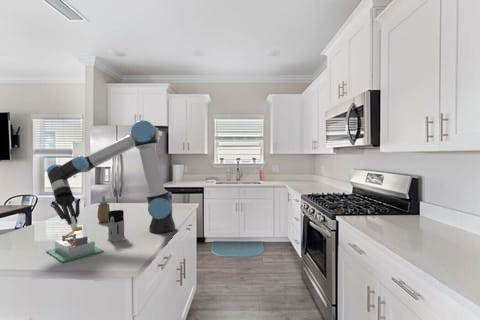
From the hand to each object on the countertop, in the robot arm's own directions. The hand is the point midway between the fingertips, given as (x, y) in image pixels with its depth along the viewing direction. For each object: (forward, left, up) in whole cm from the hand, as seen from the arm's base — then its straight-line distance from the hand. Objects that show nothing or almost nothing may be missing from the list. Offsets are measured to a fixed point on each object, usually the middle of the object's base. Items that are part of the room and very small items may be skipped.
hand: (75, 229), depth 129 cm
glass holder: (-7, -20, -11) cm, 24 cm away
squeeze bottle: (+27, -58, -11) cm, 65 cm away
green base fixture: (+1, -1, -11) cm, 11 cm away
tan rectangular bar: (+2, -1, -3) cm, 4 cm away
